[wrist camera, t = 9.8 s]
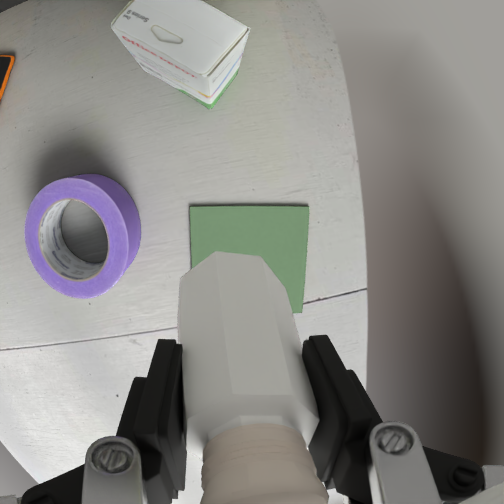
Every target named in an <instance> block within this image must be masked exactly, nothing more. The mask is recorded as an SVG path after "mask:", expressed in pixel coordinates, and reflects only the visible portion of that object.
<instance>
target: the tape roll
mask: <svg viewBox="0 0 504 504" xmlns="http://www.w3.org/2000/svg"><path fill="white" fill-rule="evenodd" d="M71 200H75V201H79V202H82V203H84V204H86V205H87V206H89V207H90V208H91V209H92V210H93V211H94V212H95V213H96V214H97V215H98V216H99V218H100V219H101V221H102V223H103V225H104V227H105V230H106V233H107V238H108V252H107V257H106V260H105V261H104V262H100V263H89V262H86V261H83V260H81V259H79V258H77V257H76V256H75V255H74V254H72V252H71V251H70V250H69V249H68V248H67V246H66V244H65V242H64V240H63V237H62V233H61V217H62V213H63V211H64V209H65V207H66V205H67V204H68V203H69V202H70V201H71ZM140 239H141V224H140V218H139V214H138V211H137V208H136V206H135V204H134V201H133V200H132V198H131V197H130V195H129V194H128V193H127V191H126V190H125V189H124V188H123V187H122V186H121V185H120V184H118V183H117V182H115V181H114V180H112V179H110V178H108V177H105V176H103V175H99V174H82V175H77V176H73V177H68V178H63V179H59V180H56V181H54V182H52V183H50V184H48V185H47V186H45V187H44V188H43V189H42V190H41V191H40V192H39V193H38V194H37V195H36V196H35V198H34V199H33V201H32V203H31V205H30V207H29V209H28V212H27V216H26V221H25V242H26V247H27V252H28V255H29V258H30V260H31V262H32V264H33V266H34V268H35V269H36V271H37V272H38V274H39V275H40V276H41V278H42V279H43V280H44V281H45V282H46V283H47V284H48V285H49V286H51V287H52V288H53V289H55V290H56V291H58V292H60V293H62V294H64V295H67V296H70V297H74V298H93V297H96V296H99V295H101V294H103V293H105V292H107V291H108V290H109V289H111V288H112V287H113V286H114V285H115V284H116V283H117V282H118V280H119V279H120V278H121V276H122V275H123V273H124V272H125V271H126V269H127V268H128V267H129V265H130V264H131V263H132V261H133V260H134V258H135V256H136V254H137V251H138V249H139V245H140Z"/></svg>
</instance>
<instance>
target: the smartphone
mask: <svg viewBox="0 0 504 504" xmlns="http://www.w3.org/2000/svg"><path fill="white" fill-rule="evenodd" d="M14 60H15V58H14V56H11V55H0V101H1V97H2V95H3V92H4V89H5V86H6V83H7V80H8V78H9V74H10V71H11V68H12V66H13V63H14Z"/></svg>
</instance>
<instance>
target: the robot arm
mask: <svg viewBox="0 0 504 504" xmlns="http://www.w3.org/2000/svg"><path fill="white" fill-rule="evenodd" d="M182 353H183V346H182V344H177V343H176V340H175V339H158V342H157V345H156V348H155V352H154V355H153V358H152V362H151V365H150V368H149V372H148V375H147V377H135V378H134V380H133V382H132V385H131V388H130V391H129V395H128V398H127V401H126V404H125V407H124V410H123V414H122V417H121V420H120V423H119V427H118V430H117V433H116V436H108V437H103V438H101V439H98V440H97V441H95V442H94V443H92V444H91V446H90V447H89V448H88V450H87V453H86V458H85V464H83V465H81V466H79V467H77V468H75V469H73V470H70V471H68V472H66V473H64V474H62V475H60V476H57V477H55V478H53V479H50V480H48V481H46V482H43V483H41V484H39V485H36V486H34V487H32V488H30V489H28V490H27V491H26V492H25V493H24V495H23V496H22V497H19V498H18V497H17V496H16V495H10V496H1V497H0V504H171V503H172V499H178V490H181V491H184V489H185V474H186V458H187V451H186V446H185V440H184V434H183V404H182ZM302 359H303V362H304V365H305V368H306V371H307V374H308V378H309V381H310V384H311V387H312V390H313V394H314V397H315V400H316V404H317V408H318V414H319V420H320V421H319V423H318V425H317V428H316V430H315V432H314V434H313V437H312V439H311V441H310V443H309V445H308V449H309V452H310V454H311V456H312V460H313V461H314V465H315V467H316V469H317V470H316V476H317V477H318V479H319V480H320V481H321V482H324V484H325V487H326V490H328V489H333V488H336V491H337V492H338V493H340V494H342V495H343V504H504V466H497V465H496V466H495V465H484V467H483V468H480V466H479V465H478V464H476V463H475V462H473V461H471V460H468V459H464V458H461V457H457V456H454V455H450V454H446V453H443V452H440V451H437V450H433V449H430V448H427V447H424V446H422V445H421V442H420V440H419V437H418V435H417V433H416V432H415V430H414V429H413V428H411V427H410V426H409V425H407V424H404V423H402V422H397V421H387V422H383V421H382V419H381V418H380V416H379V414H378V412H377V411H376V409H375V407H374V405H373V403H372V402H371V400H370V398H369V397H368V395H367V393H366V391H365V389H364V388H363V386H362V384H361V382H360V381H359V379H358V377H357V375H356V374H355V372H354V371H353V370H346V368H345V366H344V364H343V362H342V361H341V359H340V357H339V355H338V353H337V352H336V350H335V348H334V346H333V344H332V343H331V341H330V339H329V337H328V336H327V335H316V336H310V337H309V340H305V341H304V342H303V349H302Z"/></svg>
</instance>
